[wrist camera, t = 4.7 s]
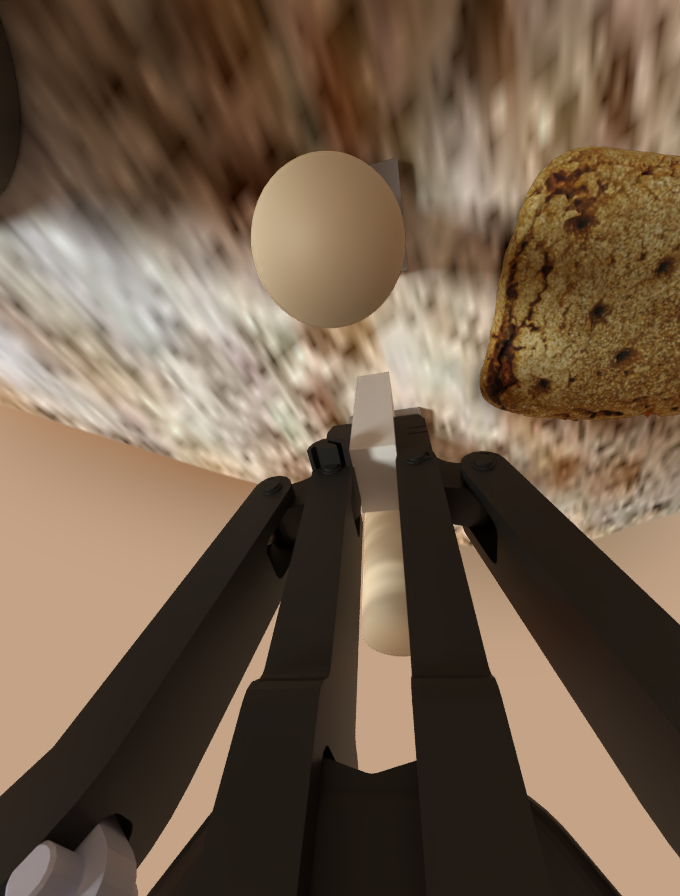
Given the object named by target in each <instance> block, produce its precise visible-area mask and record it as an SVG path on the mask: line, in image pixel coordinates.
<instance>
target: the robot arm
mask: <svg viewBox="0 0 680 896" xmlns="http://www.w3.org/2000/svg"><path fill="white" fill-rule="evenodd" d="M19 136H20V110H19V99H18V91H17V84H16V79H15V74H14V69H13V64H12V60H11V56H10V52H9V48H8V45H7V42H6V38H5V35H4V32H3V29H2V26H1V23H0V194H1V192H2V191H3V190H4V188H5V186H6V185H7V183H8V181H9V179H10V176H11V174H12V171H13V169H14V165H15V162H16V157H17V152H18V146H19ZM307 453H308V456H309V459H310V463H311V466H312V470H313V472H312V476H311V477H310V478H308V479H306V480H303V481H300V482H297V483H294V484H291V481H290V479H288V478H287V477H284V476H274V477H271V478H268V479H266V480H264V481H262V482H260V483H259V484H258V485H257V486H256V487H255V488H254V490H253V491H252V492H251V494H250V495H249V496H248V497H247V499H246V500H245V501H244V503H243V504H242V505H241V506H240V508H239V509H238V510H237V512H236V513H235V514H234V516H233V517H232V518H231V520H230V521H229V522H228V523H227V524H226V526H225V527H224V528H223V530H222V531H221V532H220V533H219V535H218V536H217V538H216V539H215V540H214V541H213V542H212V544H211V545H210V546H209V548H208V549H207V550H206V551H205V553H204V554H203V555H202V557H201V558H200V559H199V560H198V562H197V563H196V564H195V566H194V567H193V568H192V569H191V571H190V572H189V573H188V575H187V576H186V577H185V578H184V580H183V581H182V582H181V584H180V585H179V586H178V587H177V589H176V590H175V591H174V593H173V594H172V595H171V596H170V598H169V599H168V600H167V602H166V603H165V604H164V605H163V607H162V608H161V609H160V611H159V612H158V613H157V615H156V616H155V617H154V618H153V620H152V621H151V622H150V623H149V625H148V626H147V627H146V629H145V630H144V631H143V632H142V634H141V635H140V636H139V638H138V639H137V640H136V641H135V643H134V644H133V645H132V647H131V648H130V649H129V650H128V652H127V653H126V654H125V656H124V657H123V658H122V659H121V661H120V662H119V663H118V665H117V666H116V667H115V669H114V670H113V671H112V672H111V674H110V675H109V676H108V677H107V679H106V680H105V681H104V683H103V684H102V685H101V686H100V688H99V689H98V690H97V692H96V693H95V694H94V695H93V697H92V698H91V699H90V701H89V702H88V703H87V705H86V706H85V707H84V708H83V710H82V711H81V712H80V713H79V715H78V716H77V717H76V719H75V720H74V721H73V722H72V724H71V725H70V726H69V728H68V729H67V730H66V732H65V733H64V734H63V735H62V737H61V738H60V739H59V740H58V742H57V743H56V744H55V746H54V747H53V748H52V749H51V750H50V751H49V752H47V753H46V754H45V755H44V756H43V757H42V758H41V759H40V760H39V761H38V762H37V763H36V764H35V765H33V767H31V768H30V769H29V770H28V771H27V772H26V773H25V774H24V775H23V776H22V777H21V778H19V779H18V780H17V781H16V782H15V783H14V784H13V785H12V786H11V787H10V788H9V789H8V790H7V791H5V792H4V793H3V794H2V795H1V796H0V896H138V890H137V885H136V884H135V882H136V870H137V868H138V867H139V865H140V864H141V863H142V861H143V860H144V858H145V857H146V856H147V854H148V853H149V852H150V850H151V849H152V847H153V846H154V844H155V842H156V841H157V839H158V838H159V836H160V834H161V833H162V831H163V830H164V828H165V827H166V825H167V824H168V822H169V820H170V819H171V817H172V815H173V813H174V811H175V809H176V808H177V806H178V804H179V802H180V800H181V799H182V797H183V795H184V793H185V791H186V789H187V788H188V785H189V784H190V782H191V780H192V778H193V776H194V774H195V772H196V769H197V768H198V766H199V763H200V762H201V760H202V758H203V755H204V754H205V752H206V750H207V748H208V746H209V744H210V742H211V739H212V738H213V736H214V734H215V732H216V729H217V727H218V726H219V723H220V722H221V719H222V718H223V715H224V714H225V712H226V710H227V708H228V705H229V703H230V701H231V699H232V698H233V695H234V694H235V692H236V690H237V688H238V685H239V684H240V682H241V680H242V677H243V675H244V673H245V672H246V669H247V667H248V666H249V663H250V662H251V659H252V657H253V655H254V653H255V651H256V649H257V647H258V645H259V643H260V641H261V639H262V637H263V635H264V633H265V631H266V629H267V627H268V625H269V623H270V621H271V619H272V617H273V615H274V613H275V611H276V609H277V607H278V605H279V603H280V601H281V603H280V607H279V612H278V616H277V620H276V624H275V628H274V632H273V636H272V640H271V645H270V649H269V653H268V657H267V661H266V665H265V669H264V672H263V674H262V676H261V678H260V679H258V680H255V681H253V682H252V683H251V684H250V686H249V687H248V689H247V691H246V694H245V696H244V699H243V702H242V706H241V709H240V713H239V717H238V720H237V724H236V727H235V732H234V735H233V739H232V742H231V746H230V750H229V753H228V757H227V761H226V765H225V768H224V772H223V775H222V779H221V783H220V786H219V790H218V794H217V798H216V801H215V805H214V808H213V811H212V813H211V814H210V816H208V818H207V819H206V820H205V822H204V823H203V824H202V825H201V827H200V828H199V829H198V831H197V832H196V833H195V834H194V836H193V837H192V838H191V839H190V841H189V842H188V843H187V845H186V846H185V847H184V849H183V850H182V851H181V852H180V854H179V855H178V856H177V857H176V859H175V860H174V861H173V863H172V864H171V865H170V866H169V868H168V869H167V870H166V872H165V873H164V875H162V877H161V878H160V879H159V881H158V882H157V883H156V884H155V886H154V887H153V888H152V890H151V891H150V892H149V893H148V895H147V896H622V895H621V894H620V893H619V892H618V891H617V889H616V888H615V887H614V886H613V885H612V884H611V882H610V881H609V880H608V879H607V878H606V876H605V875H604V874H603V873H602V872H601V870H600V869H599V868H598V867H597V866H596V865H595V863H594V862H593V861H592V860H591V859H590V857H589V856H588V855H587V854H586V853H585V852H584V850H583V849H582V848H581V847H580V846H579V844H578V843H577V842H576V841H575V840H574V838H573V837H572V836H571V835H570V834H569V833H568V832H567V830H566V829H565V828H564V827H563V826H562V825H561V824H560V823H559V822H558V821H557V820H556V819H555V818H554V817H553V816H552V815H551V814H550V813H549V812H548V811H547V810H546V809H544V808H543V807H542V806H541V805H540V804H538V803H537V802H536V801H535V800H533V799H532V798H531V797H530V796H528V795H527V793H526V789H525V785H524V781H523V777H522V774H521V770H520V766H519V762H518V758H517V755H516V751H515V747H514V743H513V740H512V735H511V731H510V728H509V724H508V720H507V716H506V712H505V708H504V705H503V701H502V697H501V694H500V690H499V687H498V685H497V682H496V679H495V678H494V676H492V674H491V672H490V669H489V666H488V662H487V658H486V654H485V650H484V647H483V643H482V639H481V634H480V630H479V626H478V622H477V618H476V614H475V610H474V606H473V602H472V598H471V594H470V590H469V586H468V582H467V578H466V574H465V570H464V566H463V562H462V558H461V554H460V550H459V546H458V542H457V538H456V534H455V530H454V526H453V524H455V525H462V526H463V529H464V532H465V533H466V535H467V536H468V538H469V539H470V541H471V542H472V544H473V545H474V547H475V549H476V550H477V552H478V553H479V555H480V556H481V558H482V559H483V561H484V562H485V564H486V565H487V567H488V568H489V570H490V572H491V573H492V575H493V576H494V578H495V579H496V581H497V582H498V584H499V586H500V587H501V589H502V590H503V592H504V593H505V595H506V596H507V598H508V599H509V601H510V602H511V604H512V605H513V607H514V609H515V610H516V612H517V613H518V615H519V616H520V618H521V619H522V621H523V622H524V624H525V625H526V627H527V629H528V630H529V632H530V633H531V635H532V636H533V638H534V639H535V641H536V642H537V644H538V646H539V647H540V649H541V650H542V652H543V653H544V655H545V656H546V658H547V660H548V661H549V663H550V664H551V666H552V667H553V669H554V670H555V672H556V673H557V675H558V676H559V678H560V680H561V681H562V682H563V684H564V686H565V687H566V689H567V690H568V692H569V693H570V695H571V696H572V698H573V700H574V701H575V703H576V704H577V706H578V707H579V709H580V710H581V712H582V713H583V715H584V716H585V718H586V720H587V721H588V723H589V724H590V726H591V727H592V729H593V730H594V732H595V733H596V735H597V737H598V738H599V739H600V741H601V743H602V744H603V746H604V747H605V749H606V750H607V752H608V754H609V755H610V757H611V758H612V760H613V761H614V763H615V764H616V766H617V767H618V769H619V770H620V772H621V774H622V775H623V776H624V778H625V780H626V781H627V783H628V784H629V786H630V787H631V789H632V791H633V792H634V794H635V795H636V797H637V798H638V800H639V801H640V803H641V804H642V806H643V807H644V809H645V810H646V812H647V813H648V814H649V816H650V817H651V819H652V820H653V821H654V823H655V824H656V826H657V827H658V829H659V830H660V831H661V833H662V834H663V836H664V837H665V839H666V840H667V842H668V843H669V844H670V845H671V847H672V848H673V850H674V851H675V852H676V853H677V855H678V856H679V857H680V625H679V624H678V623H677V622H676V621H675V620H674V619H673V618H672V617H671V616H670V615H669V614H668V613H667V612H666V611H665V610H664V609H663V608H661V607H660V606H659V605H658V604H657V603H656V602H655V601H654V600H653V599H652V598H651V597H650V596H649V595H648V594H647V593H646V592H645V591H644V590H642V589H641V588H640V587H639V586H638V585H637V584H636V583H635V582H634V581H633V580H632V579H631V578H630V577H629V576H628V575H627V574H626V573H625V572H624V571H623V570H621V569H620V568H619V567H618V566H617V565H616V564H615V563H614V562H613V561H612V560H611V559H610V558H609V557H608V556H607V555H606V554H605V553H604V552H603V551H601V550H600V549H599V548H598V547H597V546H596V545H595V544H594V543H593V542H592V541H591V540H590V539H589V538H588V537H587V536H586V535H585V534H584V533H583V532H582V531H580V530H579V529H578V528H577V527H576V526H575V525H574V524H573V523H572V522H571V521H570V520H569V519H568V518H567V517H566V516H565V515H564V514H563V513H562V512H560V511H559V510H558V509H557V508H556V507H555V506H554V505H553V504H552V503H551V502H550V501H549V500H548V499H547V498H546V497H545V496H544V495H543V494H542V493H540V492H539V491H538V490H537V489H536V488H535V487H534V486H533V485H532V484H531V483H530V482H529V481H528V480H527V479H526V478H525V477H524V476H523V475H522V474H520V473H519V472H518V471H517V470H516V469H515V468H514V467H513V466H512V465H511V464H510V463H509V462H508V461H507V460H506V459H505V458H503V457H502V456H500V455H499V454H496V453H493V452H487V451H479V452H473V453H470V454H468V455H466V456H465V457H464V458H462V460H461V463H452V462H446V461H443V460H441V459H439V458H437V457H436V455H435V454H434V452H433V451H432V447H431V443H430V439H429V435H428V431H427V427H426V423H425V419H424V418H423V417H422V416H420V415H419V414H411V415H404V416H396V417H395V414H394V407H393V399H392V392H391V384H390V377H389V372H384V373H378V374H371V375H365V376H359V377H357V385H356V394H355V403H354V412H353V421H352V424H345V425H337V426H333V427H332V429H331V430H330V431H329V432H328V434H327V438H326V439H322V440H320V441H317V442H315V443H314V444H312V445H311V446H310V447H309V448H308V450H307ZM361 507H362V511H363V513H368V512H379V511H389V510H399V513H400V526H401V539H402V552H403V565H404V577H405V590H406V603H407V616H408V629H409V641H410V654H411V668H412V677H411V689H412V705H413V718H414V732H415V745H416V758H417V760H416V761H413V762H410V763H407V764H404V765H401V766H398V767H394V768H391V769H388V770H385V771H382V772H379V773H375V774H369V773H365V772H363V771H360V770H358V760H357V752H356V741H355V722H356V696H357V668H358V641H359V614H360V587H361V560H362V531H363V521H362V517H361Z"/></svg>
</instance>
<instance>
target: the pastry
mask: <svg viewBox="0 0 680 896" xmlns="http://www.w3.org/2000/svg"><path fill="white" fill-rule="evenodd" d="M498 287H499V289H498V291H497V300H496V309H495V316H494V319H493V325H492V328H491V330H490V343H489V345H488V349H487V354H486V357H485V360H484V364H483V367H482V369H481V374H480V389H481V393H482V396H483V397H484V399H485V400H486V401H487V402H488V403H490V404H492V405H493V406H495V407H497V408H499V409H502V410H504V411H510V412H512V413H517V414H523V415H524V416H530V417H538V418H560V419H564V420H566V419H570V420H574V421H578V420H579V419H589V420H603V419H614V418H628V417H633V416H638V415H641V414H642V413H644V414H645V416H646V417H647V418H648V417H649V415H651V414H657V415H659V416H660V417H663V416H673V415H678V414H680V156H673V155H663V154H657V153H650V152H640V151H631V150H624V149H616V148H609V147H605V146H604V147H599V148H598V147H594V146H588V147H583V148H578V149H573V150H570V151H568V152H566V153H565V154H563V155H561V156H559V157H557V158H555V159H554V160H553V161H552V162H551V163H550V164H549V165H548V166H547V167H546V168H545V169H544V170H543V171H542V172H540V173H539V175H538V176H537V178H536V179H535V181H534V182H533V184H532V186H531V188H530V190H529V192H528V194H527V195H526V197H525V200H524V204H523V207H522V208H521V210H520V212H519V217H518V223H517V226H516V228H515V230H514V233H513V235H512V237H511V239H510V242H509V246H508V248H507V250H506V251H505V255H504V260H503V267H502V271H501V274H500V278H499V282H498Z"/></svg>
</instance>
